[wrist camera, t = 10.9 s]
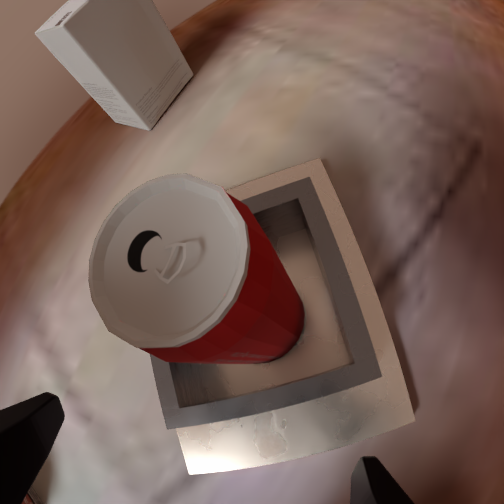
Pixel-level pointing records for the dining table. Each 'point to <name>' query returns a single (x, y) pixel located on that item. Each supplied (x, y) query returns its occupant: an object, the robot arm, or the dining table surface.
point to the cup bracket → (295, 347)
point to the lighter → (31, 498)
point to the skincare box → (119, 56)
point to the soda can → (192, 277)
